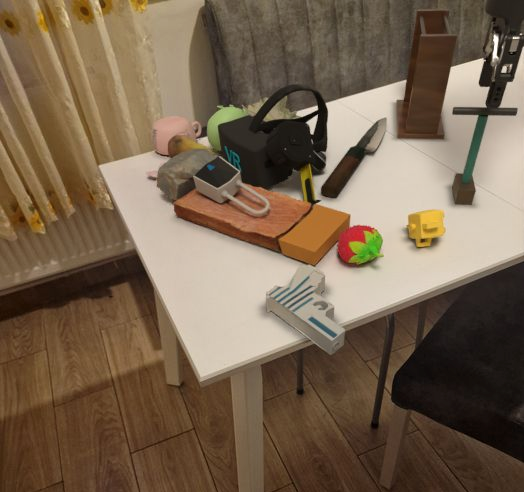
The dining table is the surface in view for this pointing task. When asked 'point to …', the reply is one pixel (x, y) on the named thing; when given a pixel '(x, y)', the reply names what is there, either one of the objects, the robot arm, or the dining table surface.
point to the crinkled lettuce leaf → (273, 110)
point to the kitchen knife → (354, 159)
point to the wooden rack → (426, 76)
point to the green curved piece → (222, 117)
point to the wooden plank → (269, 221)
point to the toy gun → (307, 308)
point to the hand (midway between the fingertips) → (488, 96)
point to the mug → (172, 131)
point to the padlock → (224, 183)
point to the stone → (182, 172)
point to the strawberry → (359, 244)
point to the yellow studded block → (426, 226)
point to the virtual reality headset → (254, 143)
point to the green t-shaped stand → (474, 150)
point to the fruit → (183, 145)
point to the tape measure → (294, 153)
